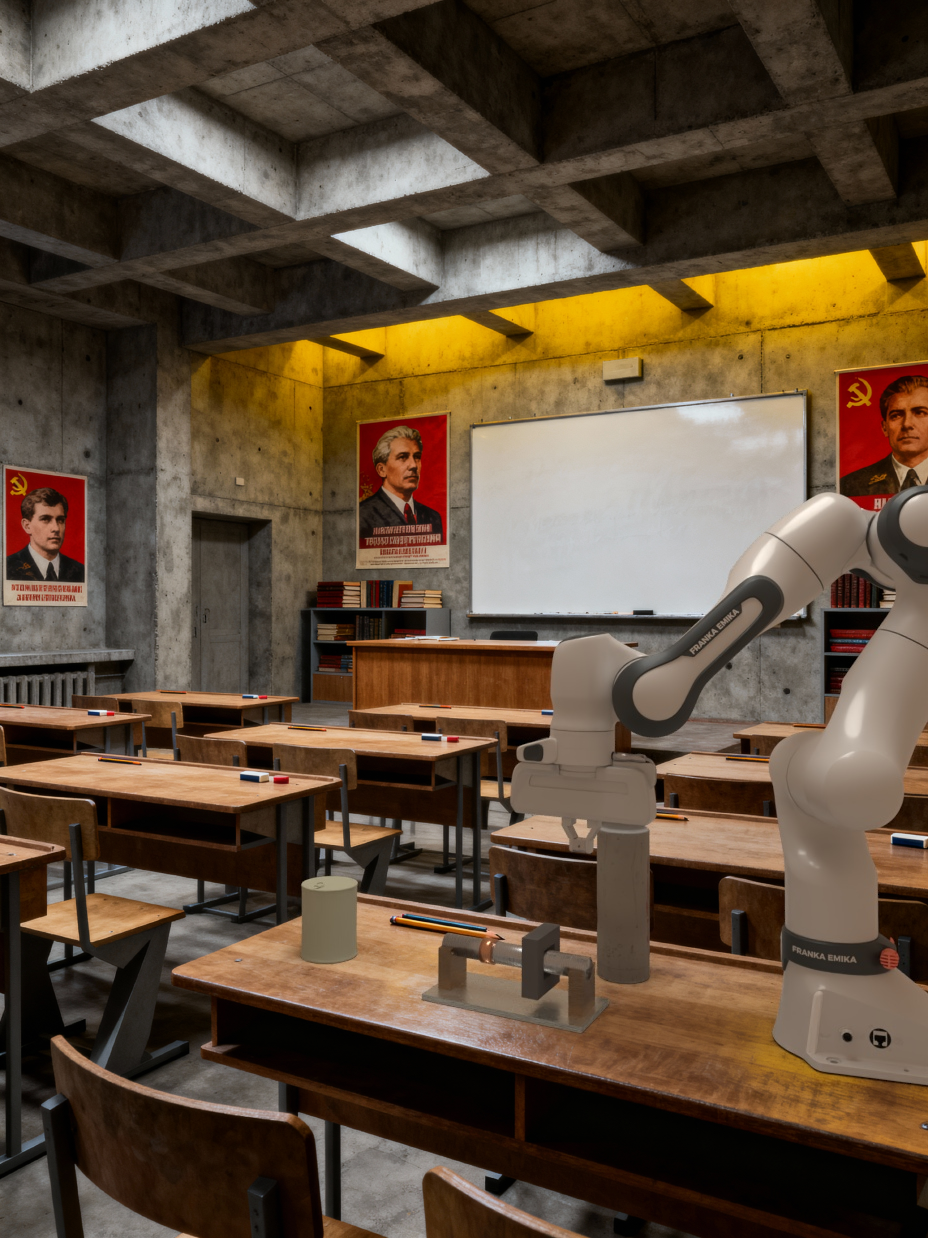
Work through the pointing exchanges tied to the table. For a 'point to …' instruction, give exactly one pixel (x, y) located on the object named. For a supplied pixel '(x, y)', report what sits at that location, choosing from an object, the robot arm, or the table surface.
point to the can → (329, 919)
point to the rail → (515, 984)
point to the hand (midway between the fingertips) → (581, 851)
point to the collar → (538, 960)
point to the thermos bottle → (623, 902)
